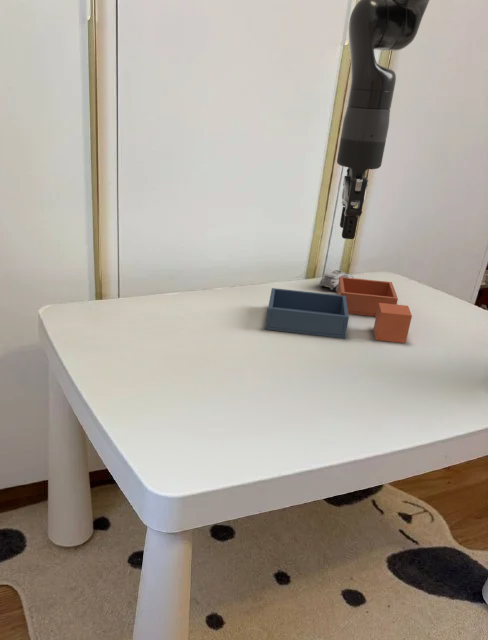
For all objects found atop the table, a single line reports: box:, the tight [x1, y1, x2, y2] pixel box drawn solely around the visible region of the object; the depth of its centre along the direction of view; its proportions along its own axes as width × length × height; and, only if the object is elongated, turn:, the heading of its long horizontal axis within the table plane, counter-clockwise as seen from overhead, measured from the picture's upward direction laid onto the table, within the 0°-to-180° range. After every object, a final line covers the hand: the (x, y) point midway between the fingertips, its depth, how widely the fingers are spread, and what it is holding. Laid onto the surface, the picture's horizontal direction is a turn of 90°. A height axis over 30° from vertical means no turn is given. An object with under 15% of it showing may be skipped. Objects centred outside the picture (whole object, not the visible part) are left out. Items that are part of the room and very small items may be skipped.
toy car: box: [319, 270, 354, 293], centre depth 119 cm, size 4×8×3 cm, turn 134°
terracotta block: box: [372, 303, 413, 344], centre depth 98 cm, size 4×4×4 cm
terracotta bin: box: [335, 277, 399, 318], centre depth 109 cm, size 9×9×4 cm
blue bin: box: [265, 287, 350, 339], centre depth 101 cm, size 12×10×4 cm
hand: (346, 232), depth 115 cm, fingers open, 8 cm apart
